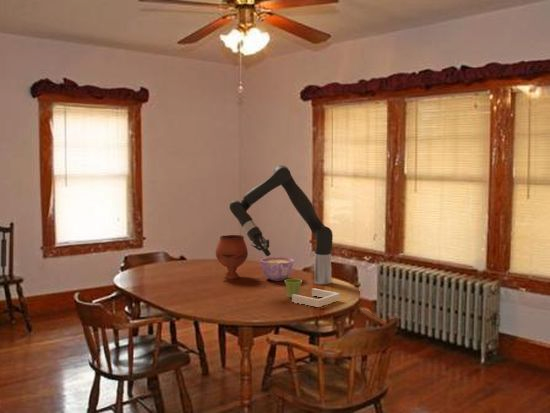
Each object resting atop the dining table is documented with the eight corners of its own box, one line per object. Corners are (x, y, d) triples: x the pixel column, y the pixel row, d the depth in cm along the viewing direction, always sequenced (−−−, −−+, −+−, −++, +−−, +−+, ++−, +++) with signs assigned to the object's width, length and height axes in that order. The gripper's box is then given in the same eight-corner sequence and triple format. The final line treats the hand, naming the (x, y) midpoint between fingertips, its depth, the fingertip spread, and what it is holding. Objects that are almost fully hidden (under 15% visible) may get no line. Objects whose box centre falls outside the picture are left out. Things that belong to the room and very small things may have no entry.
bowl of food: (290, 283, 324) (290, 264, 323) (256, 282, 328) (256, 262, 327) (296, 276, 343) (296, 257, 342) (264, 274, 347) (264, 256, 346)
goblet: (249, 274, 349) (249, 234, 347) (245, 281, 330) (245, 238, 327) (219, 273, 351) (219, 233, 348) (212, 280, 332) (212, 238, 329)
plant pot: (287, 299, 289) (287, 283, 288) (281, 295, 298) (282, 279, 297) (304, 298, 291) (304, 282, 290) (298, 294, 300) (299, 278, 299)
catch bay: (313, 295, 297) (313, 288, 297) (339, 301, 286) (339, 293, 286) (292, 302, 283) (292, 294, 283) (318, 308, 273) (318, 300, 272)
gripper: (247, 227, 303) (264, 252, 296) (263, 225, 313) (280, 249, 306) (240, 236, 307) (256, 261, 300) (256, 233, 317) (273, 257, 310)
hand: (268, 255), depth 303 cm, fingers closed
